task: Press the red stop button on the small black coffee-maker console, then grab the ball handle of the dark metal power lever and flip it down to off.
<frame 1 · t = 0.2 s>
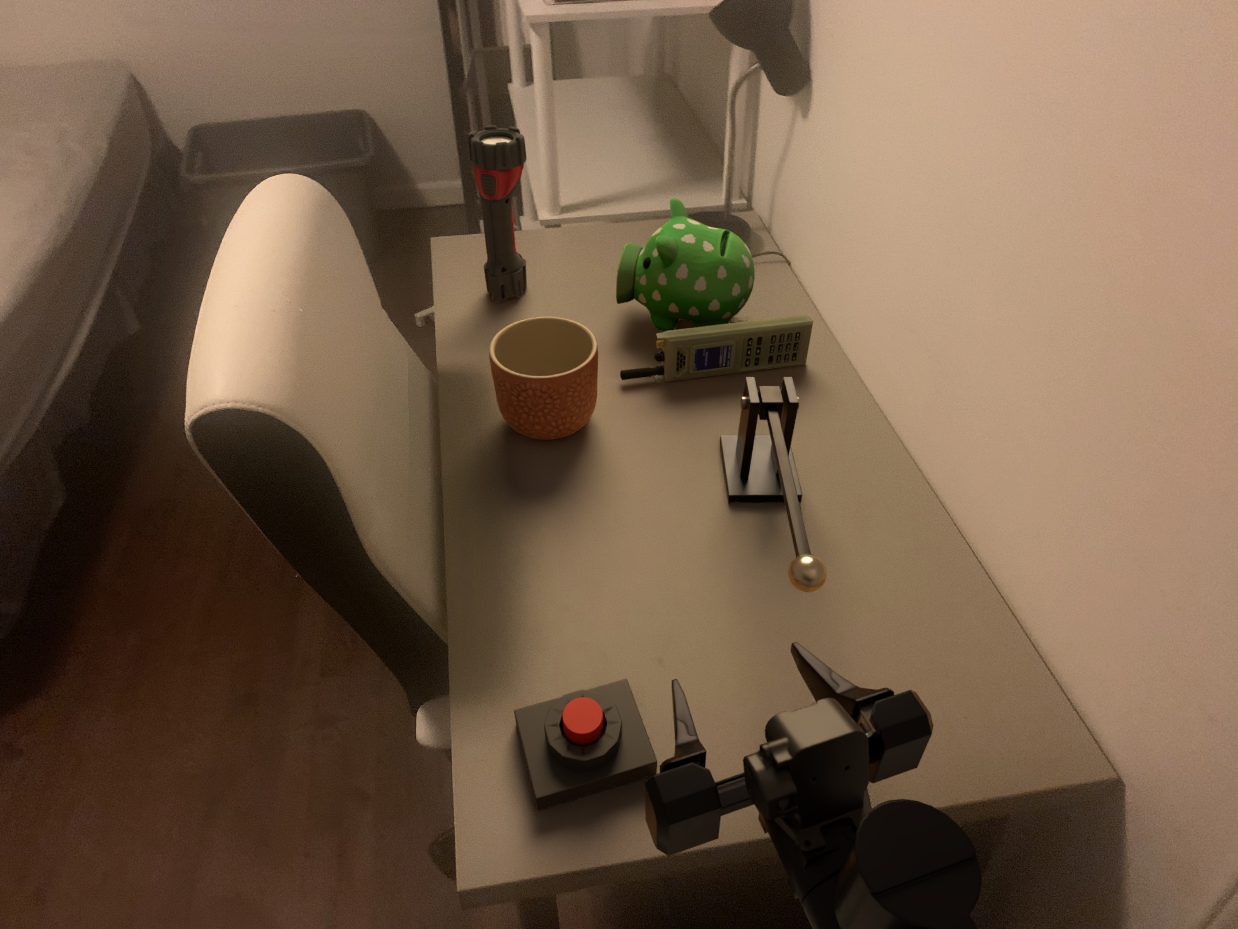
hand: (734, 663, 57), 14 cm above the table, tool horizontal, fingers open, 9 cm apart
piggy bank: (685, 319, 115), on the table
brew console: (584, 748, 67), on the table
flashlight: (510, 288, 121), on the table
power lever: (786, 479, 76), point 10 cm above the table, hinge at 0.0°
handheld radio: (713, 372, 106), on the table
planter: (549, 420, 98), on the table
stop button: (582, 720, 64), point 4 cm above the table, slide at 0.1 cm
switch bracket: (758, 471, 92), on the table
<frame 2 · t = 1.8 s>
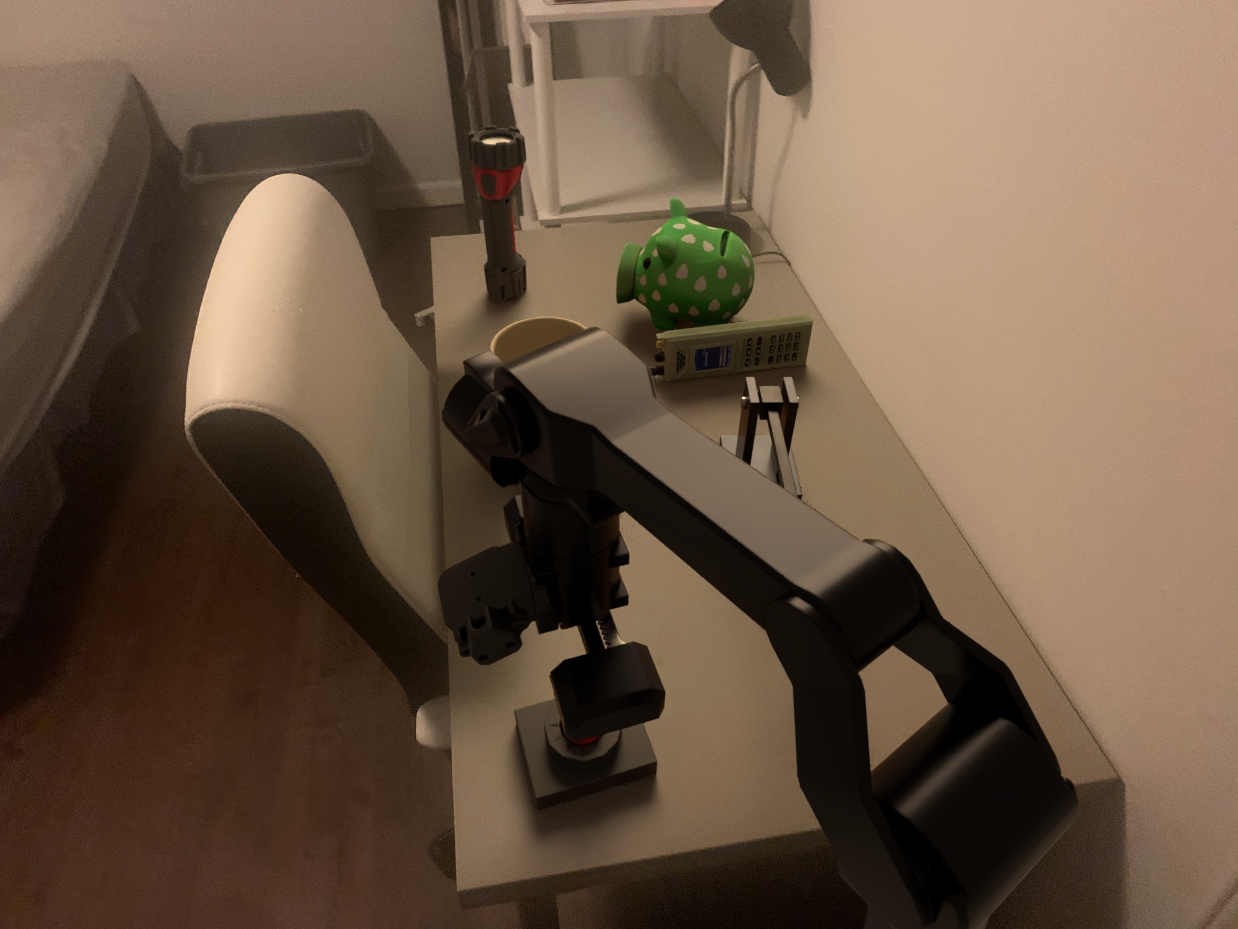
hand: (580, 667, 59), 12 cm above the table, tool pointing down, fingers open, 7 cm apart
nothing on the table moved.
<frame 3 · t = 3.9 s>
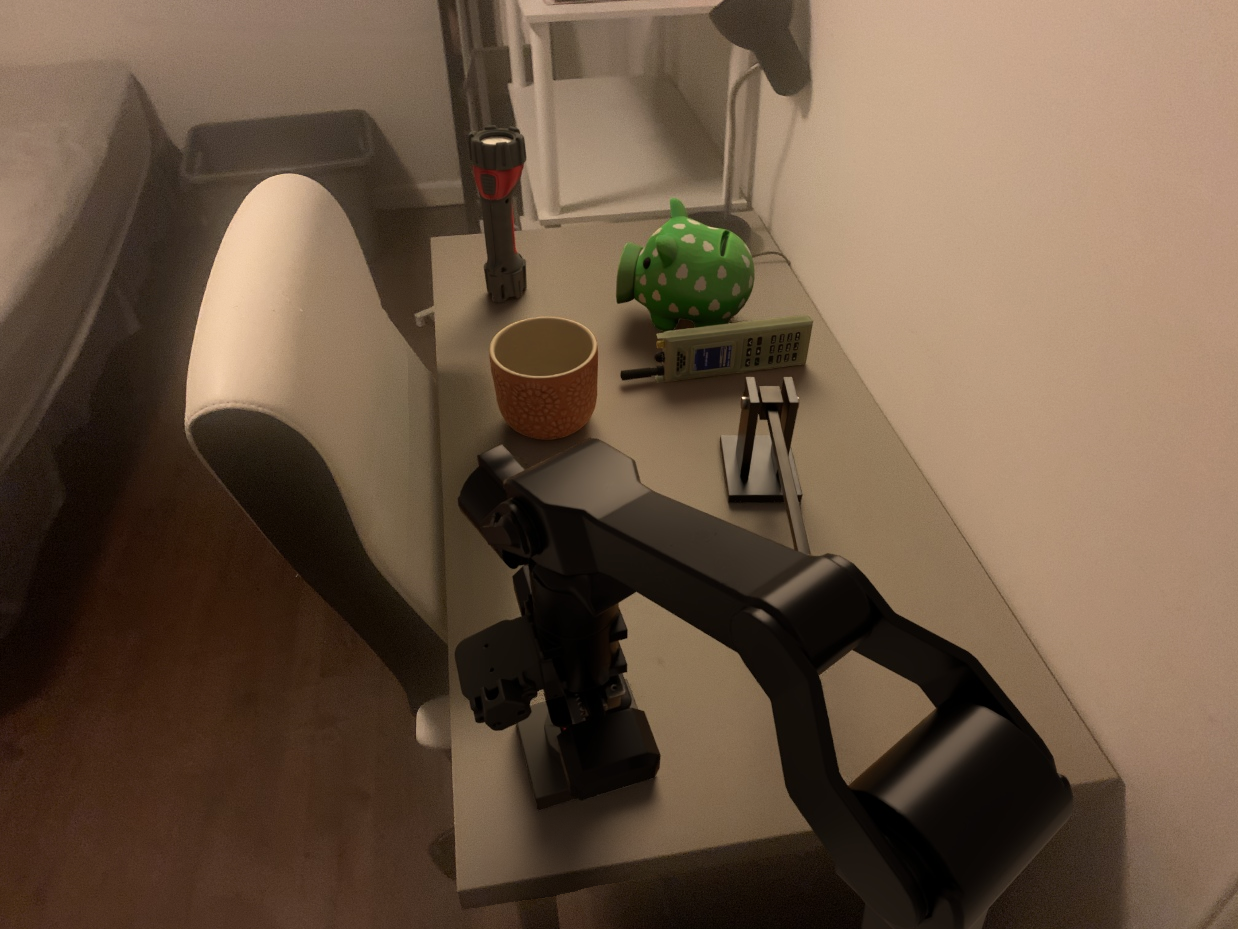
hand: (583, 721, 64), 4 cm above the table, tool pointing down, fingers closed, pressing on stop button
stop button: (583, 727, 65), point 3 cm above the table, slide at -0.9 cm, touching gripper
everything else where it was.
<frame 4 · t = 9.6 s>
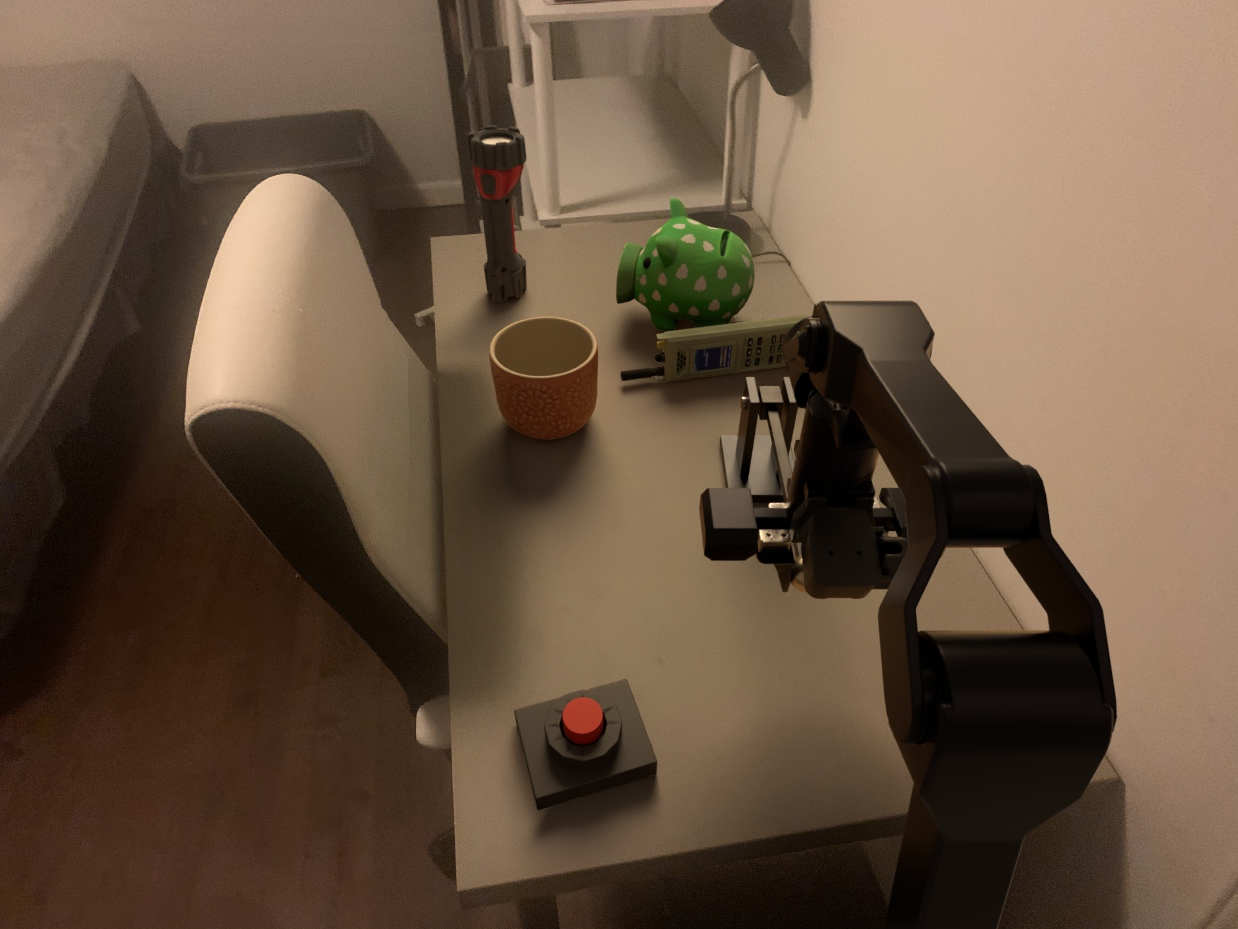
hand: (803, 588, 69), 8 cm above the table, tool pointing down, fingers closed on power lever, 3 cm apart
power lever: (786, 479, 76), point 10 cm above the table, hinge at 0.0°, touching gripper
stop button: (582, 720, 64), point 4 cm above the table, slide at 0.1 cm
everything else where it was.
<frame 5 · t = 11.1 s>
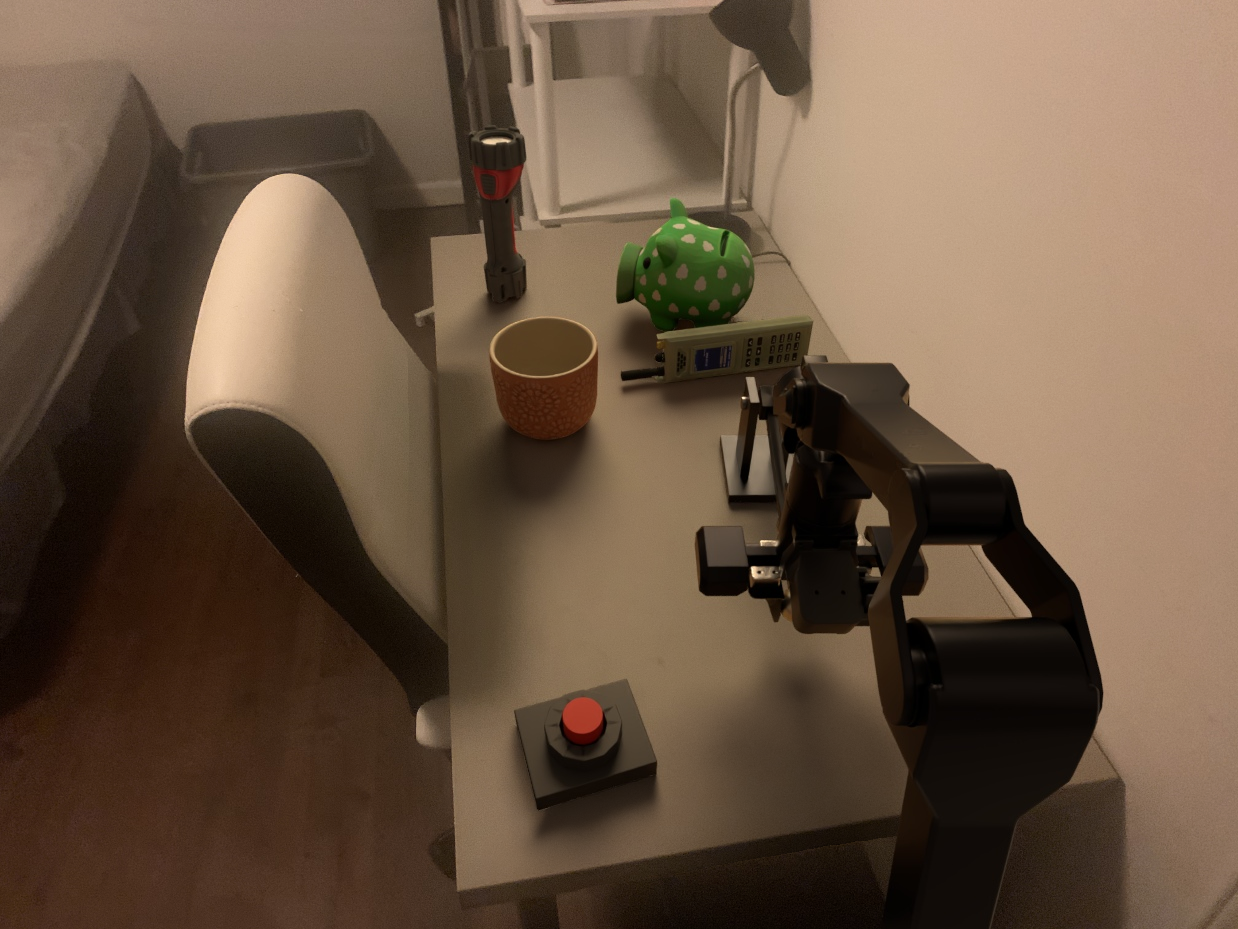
hand: (793, 618, 73), 3 cm above the table, tool pointing down, fingers closed on power lever, 3 cm apart
power lever: (782, 496, 78), point 7 cm above the table, hinge at -13.0°, touching gripper
everything else where it was.
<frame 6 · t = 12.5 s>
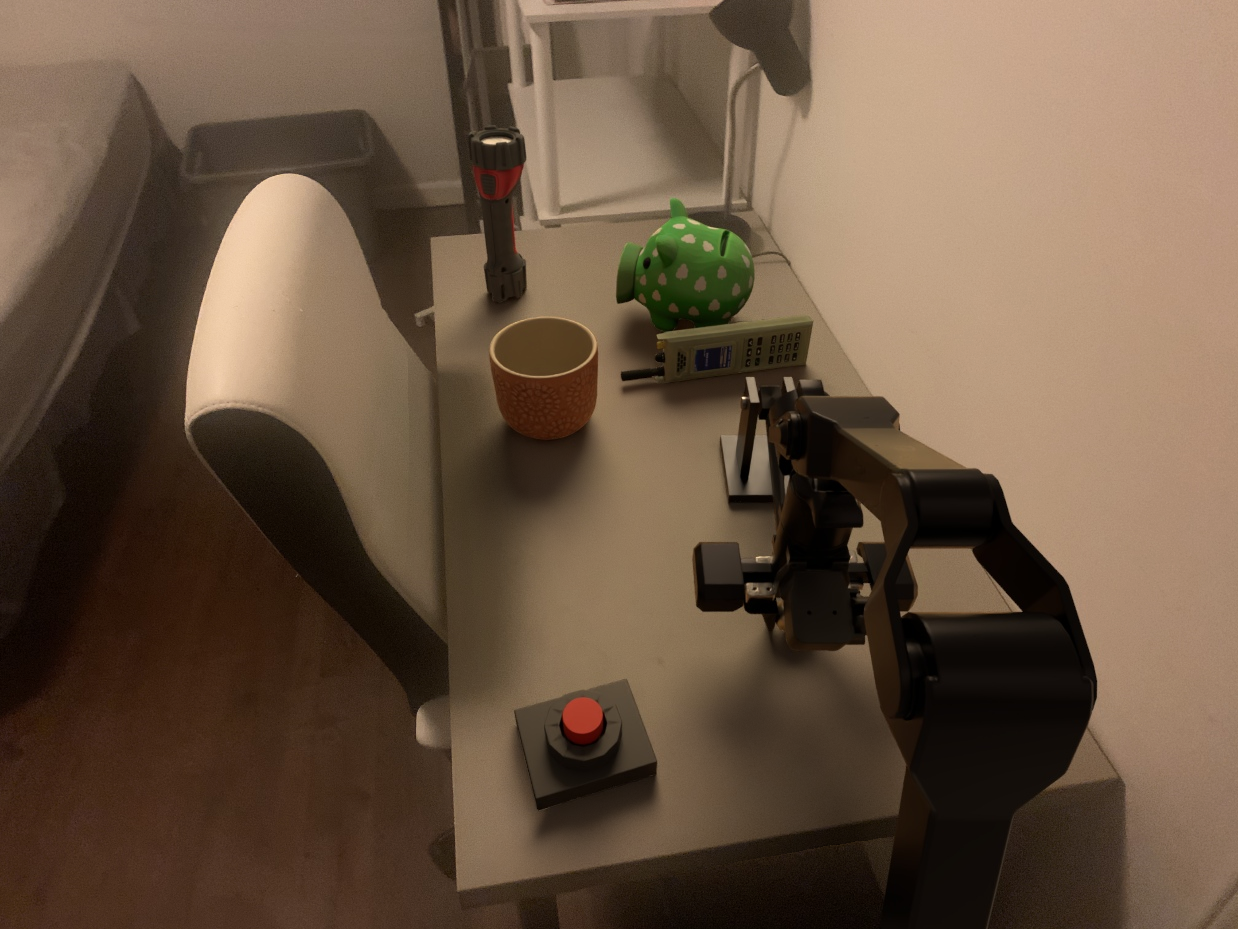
hand: (787, 628, 76), 0 cm above the table, tool pointing down, fingers closed on power lever, 3 cm apart
power lever: (779, 503, 80), point 6 cm above the table, hinge at -20.1°, touching gripper
everything else where it was.
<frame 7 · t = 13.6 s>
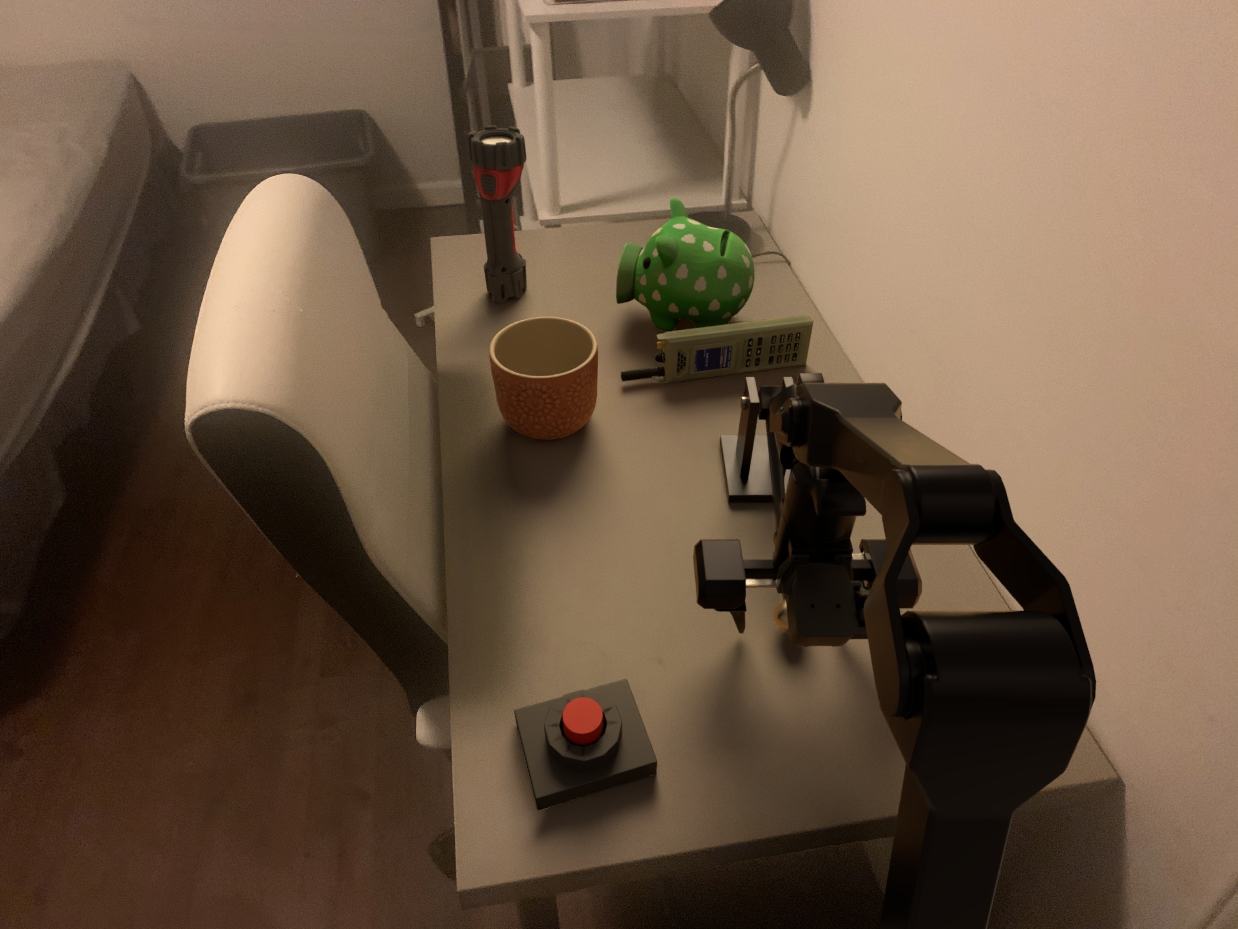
hand: (789, 629, 75), 1 cm above the table, tool pointing down, fingers open, 9 cm apart
power lever: (779, 503, 80), point 6 cm above the table, hinge at -20.1°
everything else where it was.
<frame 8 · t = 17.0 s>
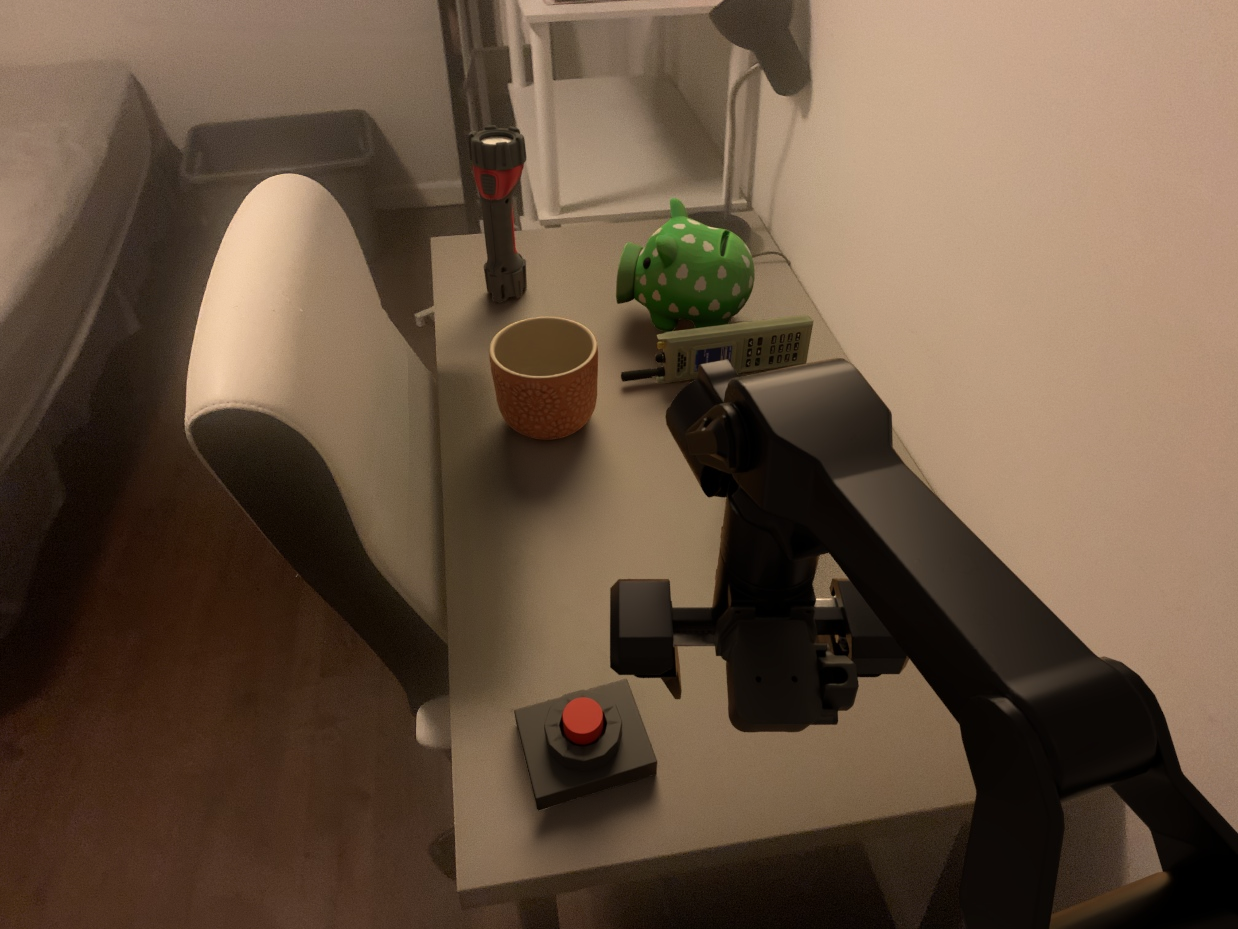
hand: (741, 693, 57), 12 cm above the table, tool pointing down, fingers open, 9 cm apart
nothing on the table moved.
at the end: stop button pushed in 1.1 cm at the most during the clip, back to where it started at the end; stop button slide at 0.1 cm; power lever at -20° (first picture: +0°) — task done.
